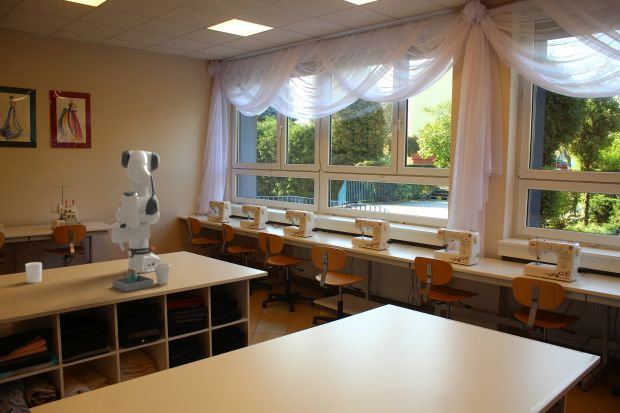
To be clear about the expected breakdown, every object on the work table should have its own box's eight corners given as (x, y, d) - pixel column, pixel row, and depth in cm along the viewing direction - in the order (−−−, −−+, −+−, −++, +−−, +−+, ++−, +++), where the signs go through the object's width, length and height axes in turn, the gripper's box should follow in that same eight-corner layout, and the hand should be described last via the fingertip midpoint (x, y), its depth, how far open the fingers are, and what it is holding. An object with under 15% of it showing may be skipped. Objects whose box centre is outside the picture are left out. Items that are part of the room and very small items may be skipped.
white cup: (46, 280, 275) (45, 262, 274) (33, 283, 267) (33, 265, 266) (35, 279, 277) (34, 261, 276) (22, 282, 270) (21, 264, 269)
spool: (134, 284, 264) (133, 267, 263) (138, 286, 261) (138, 269, 260) (126, 286, 261) (125, 269, 260) (130, 287, 258) (130, 270, 257)
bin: (139, 282, 272) (138, 274, 271) (153, 286, 262) (153, 279, 261) (112, 287, 261) (112, 279, 260) (126, 292, 251) (126, 284, 250)
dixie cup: (173, 283, 269) (173, 265, 268) (158, 285, 264) (158, 267, 263) (166, 280, 275) (166, 262, 274) (152, 283, 270) (151, 264, 269)
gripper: (146, 220, 268) (147, 246, 269) (109, 224, 253) (110, 251, 254) (152, 221, 263) (153, 247, 265) (115, 225, 249) (116, 253, 250)
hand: (131, 249), depth 259 cm, fingers open, 8 cm apart
